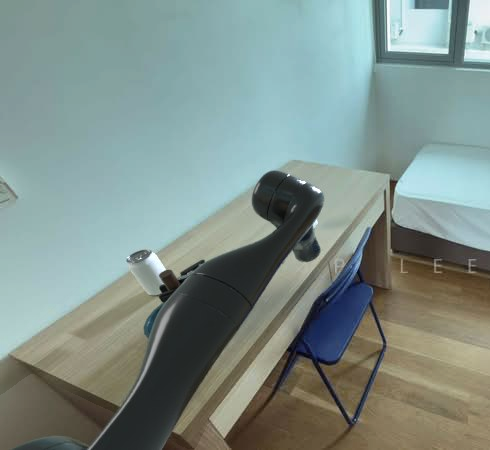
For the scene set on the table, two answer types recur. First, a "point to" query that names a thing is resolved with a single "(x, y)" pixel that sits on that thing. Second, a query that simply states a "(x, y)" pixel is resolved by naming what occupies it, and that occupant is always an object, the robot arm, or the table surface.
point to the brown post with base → (169, 279)
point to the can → (146, 270)
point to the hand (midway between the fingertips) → (161, 294)
